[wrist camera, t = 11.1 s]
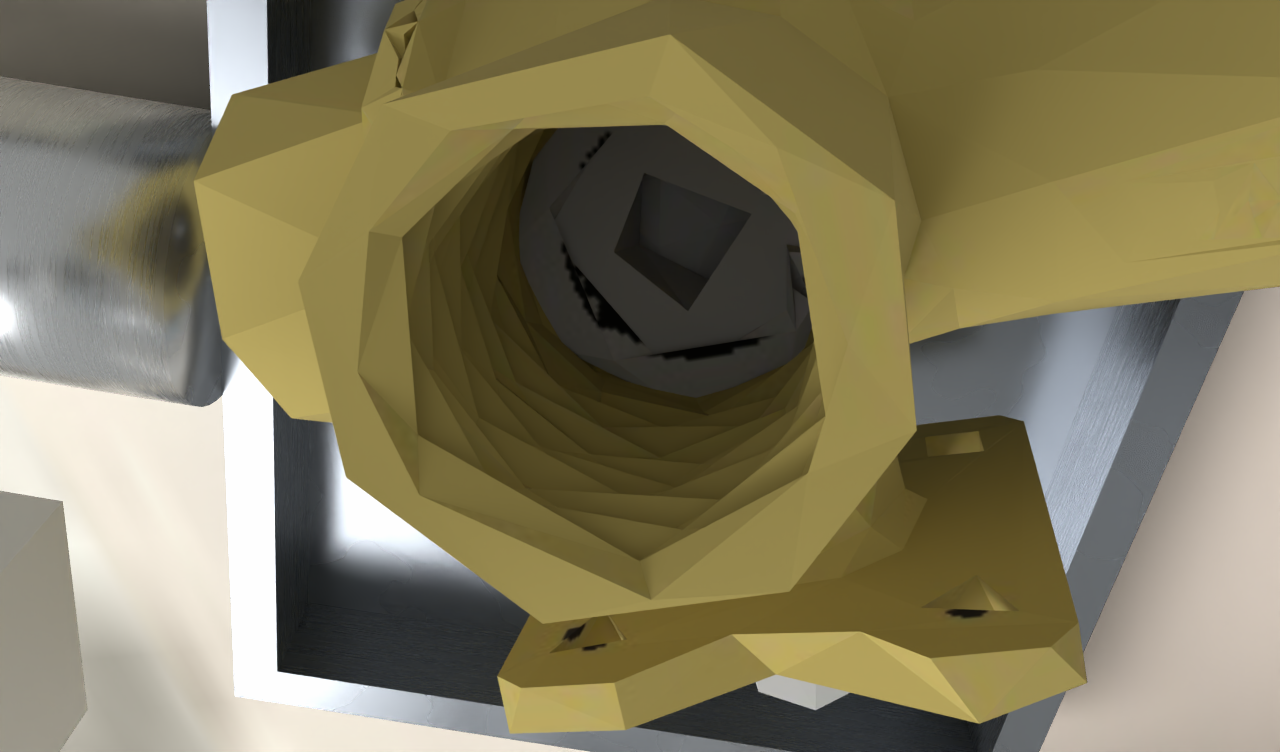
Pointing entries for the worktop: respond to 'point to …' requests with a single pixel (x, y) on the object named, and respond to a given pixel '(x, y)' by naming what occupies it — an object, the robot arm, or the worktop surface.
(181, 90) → the worktop surface
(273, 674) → the fitting cradle
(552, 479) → the ball valve
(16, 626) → the robot arm
